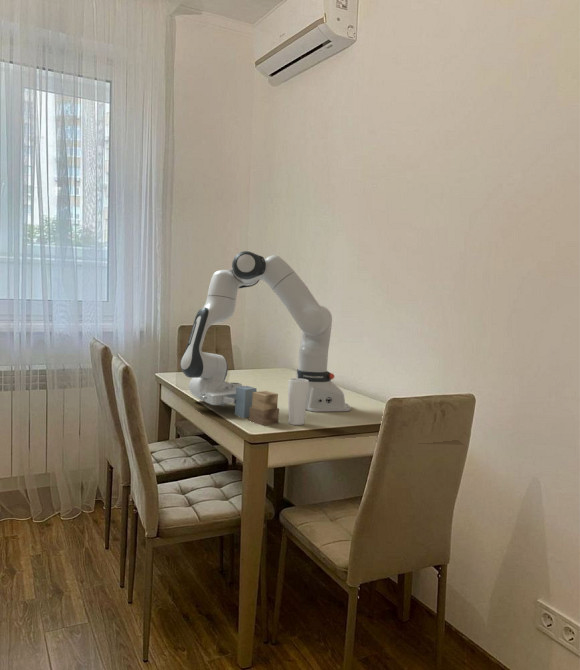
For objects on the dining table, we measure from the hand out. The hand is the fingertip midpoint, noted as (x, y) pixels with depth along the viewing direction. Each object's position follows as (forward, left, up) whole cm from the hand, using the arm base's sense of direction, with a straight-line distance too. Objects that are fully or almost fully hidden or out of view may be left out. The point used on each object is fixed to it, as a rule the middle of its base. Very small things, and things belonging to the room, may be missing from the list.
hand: (245, 400), depth 202 cm
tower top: (-6, +8, -1) cm, 10 cm away
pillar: (0, 0, -6) cm, 6 cm away
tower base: (-6, +8, -6) cm, 12 cm away
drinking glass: (-17, +9, -6) cm, 20 cm away
